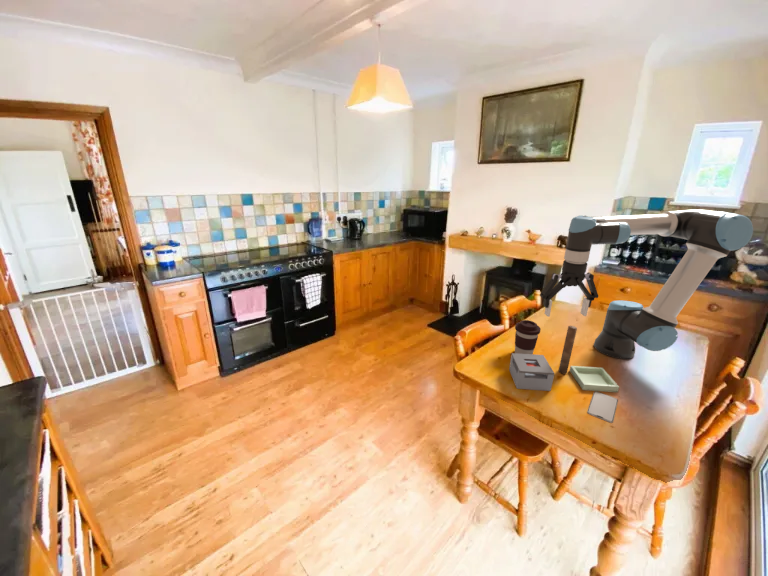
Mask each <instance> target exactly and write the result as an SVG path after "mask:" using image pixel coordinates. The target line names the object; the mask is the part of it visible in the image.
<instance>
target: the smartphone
mask: <svg viewBox="0 0 768 576" xmlns="http://www.w3.org/2000/svg"><path fill="white" fill-rule="evenodd" d="M618 402H619V399H618V398H616V397H614V396H612V395H608V394H606V393H604V392H601V391H593V395H592V396H591V399H590V403H589V405H588V408H587V410H586V411H587V412H586V413H587V414H588V415H589V416H593V417H595V418H597V419H600V420H603V421H605V422H607V423H610V424H612V423H614V420H615V417H616V416H615V415H616V411H617V407H618Z"/></svg>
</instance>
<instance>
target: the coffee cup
mask: <svg viewBox="0 0 768 576" xmlns="http://www.w3.org/2000/svg"><path fill="white" fill-rule="evenodd" d="M514 329H515V330H516V331H515V333H514V334H515V336H514V338H515V339H514V353H517V354H533V353H534V351H535V348H536V345H537V341H538V339H539V338H538V337H539V334H541V327H540V326H539V324H537V323H536V322H534V321H532V320H528V319H522V320H520V321H519V322H517V323H515V326H514Z"/></svg>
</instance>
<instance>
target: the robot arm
mask: <svg viewBox="0 0 768 576" xmlns="http://www.w3.org/2000/svg"><path fill="white" fill-rule="evenodd" d="M753 233H754V226H753V222H752V220H751V219H750V218H749V217H747V216H746V215H742V214H738V213H734V212H727V211H719V210H718V211H717V210H709V209H702V208H701V209H699V208H698V209H695V208H694V209H682V210H679V209H678V210H669V211H668V210H666V211H663V212H660V213H658V214H653V213H652V214H631V215H627V214H626V215H604V216H603V215H600V216H587V215H576V216H575V217H573V218H572V219H571V220H570V224H569V227H568V233H567V238H566V240H567V241H566V246H565V250H564V251H565V252H564V257H563V259H564V260H563V263H562V266H561V267H562V268H561V273H560V274H557V273H554V272H553V273H552V274H551V277H550V279H549V281H548V282H547V284H546V285H545V287H544V288H543V290H542V291H541V292H540V293H539V296H540V297H541V298H542V299H544V301H543V306H544V315H545V316H546V317H550V316H551V312H552V306H553V305H552V304H553V300H552V299H553V298H554V297H555V296H556V295H557V294H558V293H559V292H561V291H562V290H563V289H564V288H566V287H577V286H578V288H579V289H580V290H581V292H582V294H583V295H584V297H583V300H582V304H581V309H580V315H582V316H583V317H587V316H588V310H589V308H591V305H592V301H594V300H595V299H598V298H599V293H598V289H597V286H596V284H595V281H594V278H595V275H594V274H593V273H591V272H587V268H588V262H589V258H590V254H591V249H592V245H595V246H596V245H617V244H624V243H626V242H627V241H628V240H629V239H630V237H631V236H635V235H636V236H637V235H638V236H639V235H659V236H661V237H673V238H677V239H682V240H683V239H684V240H687V241H686V243H685V245H686V248H687V251H685V254H684V255H683V257H682V258H681V259H680V261H679V262H678V264H677V265H676V266H675V268H674V270H673V271H672V273H671V274H670V276H669V277H668V279H667V280H666V282H665V283H664V285H663V286H662V287H661V289H660V290H659V292H658V293H657V295H656V297H655V298H654V299H653V301H652V302H651V304H650V305H649V306H646V307H644V305H643V304H642V303H638V302H635V301H629V300H622V299H621V300H612V301H610V303H609V305H608V308H606V309H607V310H606V313H605V318H604V322H603V326H602V330H601V331H600V333H599V334H598V336H597V337H596V338H595V339H594V341H593V342H594V343H593V347H594V348H595V350H597V351H598V352H600V354H601V353H602V354H603V355H606V356H608V357H612V358H615V359H620V360H621V359H622V360H625V359H626V360H627V359H628V360H629V359H631V358H632V359H633V357H635V354H636V346H635V345H636V344H637V345H638V346H640V347H642V348H644V349H646V350H648V351H651V352H660V351H664V350H666V349H668V348H670V347H672V346H673V345H674V344H675V343H676V341H677V339H678V337H679V335H678V334H679V333H678V331H677V329H676V327H677V325H678V324H679V322H678V319H677V317H678V315H679V314H680V313H681V311H682V310H683V308H684V307H685V306H686V304H687V302H688V301H689V300H690V299H691V298H692V296H693V294H694V293H695V292H696V290H697V289H698V288H699V286H700V284H701V283H702V281H704V279H705V278H706V276H707V275H708V273H709V272H710V271H711V269H712V268H713V266H714V265H715V264H716V262H717V261H718V260H719V259H721V258H724V257H727V256H728V255H729V254H730V252H731V251H738V250H741V248H744V247H745V246H746V245H747V244H748V243H749V242H750V241H751V239H752V237H753ZM585 279H586V282H587V286H588V288H589V290H588V288H587V287H586V285H585V284H584V282H583V281H584V280H585ZM635 343H636V344H635Z"/></svg>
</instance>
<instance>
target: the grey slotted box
mask: <svg viewBox="0 0 768 576" xmlns="http://www.w3.org/2000/svg"><path fill="white" fill-rule="evenodd" d="M509 362H510V363H509V367H508V368H509V369H508V370H509V373H510V375H511V377H512V378H511V379H512V380H513V382H514V385H515V387H516V389H519V390H531V391H546V392H547V391H548V392H551V390H552V387H553V382H554V377H555V372H554V370H553V369H552V366H551V365H550V364H549V362H548V361H547V358H546V357H545V355H544V354H517V353H515V352H514V353H513V352H511V356H510V361H509ZM526 363H533V364H535V365H536V366H527V364H526Z"/></svg>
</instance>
